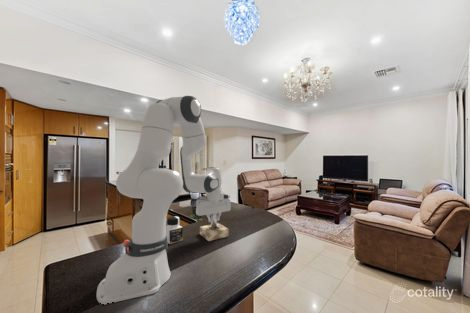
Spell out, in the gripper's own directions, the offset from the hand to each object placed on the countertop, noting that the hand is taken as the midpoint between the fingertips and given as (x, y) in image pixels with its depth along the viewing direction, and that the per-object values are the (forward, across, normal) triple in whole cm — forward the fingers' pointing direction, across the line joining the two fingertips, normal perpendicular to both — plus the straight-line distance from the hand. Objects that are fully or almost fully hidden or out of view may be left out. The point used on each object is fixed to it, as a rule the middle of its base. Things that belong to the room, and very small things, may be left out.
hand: (214, 221), depth 110 cm
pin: (+4, 0, 0) cm, 4 cm away
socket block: (+8, 0, 0) cm, 8 cm away
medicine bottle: (+8, -21, +5) cm, 23 cm away
